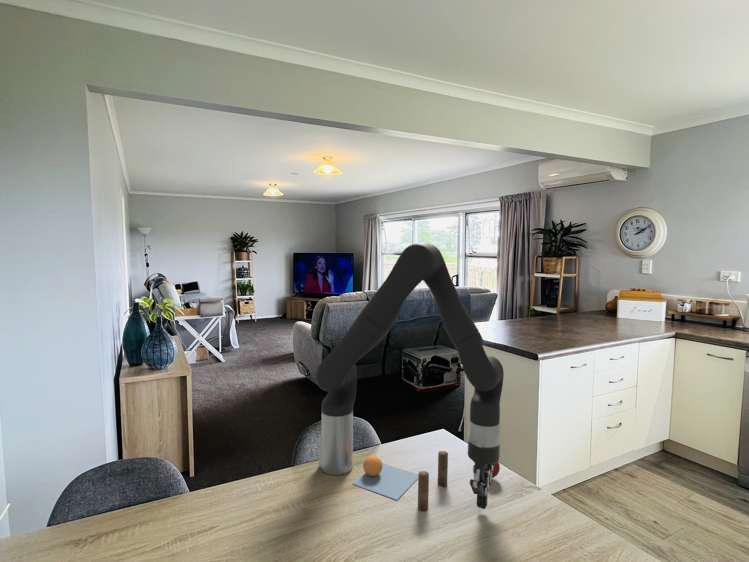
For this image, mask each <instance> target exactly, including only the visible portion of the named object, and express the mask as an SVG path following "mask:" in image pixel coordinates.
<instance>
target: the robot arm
mask: <svg viewBox="0 0 749 562" xmlns="http://www.w3.org/2000/svg"><path fill="white" fill-rule="evenodd" d="M422 281H423V282H424V283H425V284H426V286H427V287H428V289H429V290H430V292H431V294H432V296H433V298H434V300H435V303H436V305H437V309H438V313H439V316H440V320H441V323H442V326H443V328H444V330H445V332H446V334H447V335H448V337H449V340H450V341H451V343H452V344H453V346H454V348H455V350H456V351H457V354H458V358H459V361H460V363H461V366H462V369H463V372H464V374H465V377H466V379H467V380H468V382H469V383H470V384H471V385H472V386H473V388H474V390H473V391H474V393H473V396H472V397H471V400H470V403H469V404H470V406H469V423H468V428H467V429H468V430H467V432H468V437H467V456H468V458H469V459H470V460H471V461H472V462H473V463H474V464H473V465H472V473H473V479H472V478H471V479H470V480H469V485H470V488H471V490H472V493H473V495H476V506H477V508H479V509H483V510H485V509H486V508H487V506H488V494H489V493H488V492H489V491H490V487H491V485H492V480H493V478H492V476H493V471H494V466H495V463H496V462H499V460H500V456H501V455H500V449H501V426H500V423H501V422H500V420H501V419H500V417H501V415H500V414H501V405H500V404H501V396H502V391H503V385H504V367H503V364H502V363H501V361H500V360H499V359H498V358H497V357H495V356H494V355H487V353H486V351H485V349H484V339H483V336H482V334H481V333H480V331H479V329H478V326H477V325H476V324H475V323H474V320H473V318H472V317H471V315H470V314H469V311H468V310H467V308H466V307H465V305H464V303H463V301H462V299H461V297H460V295H459V293H458V291H457V288H456V286H455V284H454V282H453V280H452V276H451V275H450V273H449V270H448V267H447V264H446V262H445V259H444V257H443V255H442V252H441V251H440V249H439V248H438V247H437V246H436V245H434V244H431V243H421V242H420V243H413V244H410V245H408V246H407V247H406V248H404V249H403V251H402V252H401V253H400V255H399V257H398V258H397V259H396V262H395V264H394V265H393V267H392V269H391V271H389V274H388V276H387V277H386V279H385V280H384V281H383V283H382V284H381V285H380V287H379V288H378V289H377V290H376V292H375V293H374V294H373V296H372V297H371V299H370V300H369V301H368V302H367V304H365V306H363V308H362V310H361V311H360V313H359V314H358V315H357V317H356V319H355V320H354V321H353V323H352V324H351V325H350V327H349V328H348V330H347V331H346V333H345V334H344V335H343V337H342V338H341V339H340V341H339V342H338V344H337V345H336V346H335V347H334V348H333V350H331V352H330V353H329V354H327V356H326V357H325V358H324V359H323V360H322V361H321V362H320V364H319V365H318V367H317V368H316V373H315V382H316V384H317V386H318V388H320V389H321V390H322V391H325V392H327V394H326V396H325V397H324V398H323V399H322V402H321V434H319V436H318V467H319V468H321V470H322V471H323V472H324V473H325V474H329V475H331V476H332V475H334V476H339V475H344V474H347V473H349V472H351V470H352V469H353V465H354V464H353V461H354V456H353V453H354V452H353V451H354V450H353V449H354V404H355V402H356V396H357V385H358V384H357V380H358V371H357V366H356V364H357V362H358V361H359V360H361V359H362V358H363V357H364V356H365V355H366V354H368V353H369V352H371V350H372V349H374V348H375V347H376V346H378V344H379V343H380V342H382V340H383V339H384V338H385V337H386V336H387V335H388V333H389V332H390V331H391V329H392V328H393V327H394V326H395V323H396V322H397V320H398V318H399V316H400V313H401V310H402V308H403V305H404V303H405V301H406V299H407V298H408V296H409V295H410V294H411V293H413V291H414V289H416V287H417V286H418V285H419V284H420V283H421V282H422Z"/></svg>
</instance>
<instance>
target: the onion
mask: <svg viewBox="0 0 749 562" xmlns="http://www.w3.org/2000/svg"><path fill="white" fill-rule="evenodd" d="M500 468H501V467H500V463H499V461H498V462H496V463H495V466H494V471H493V476H492V479H493V478H495V477H497V476H498V474H499V473H500V470H501V469H500Z"/></svg>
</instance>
